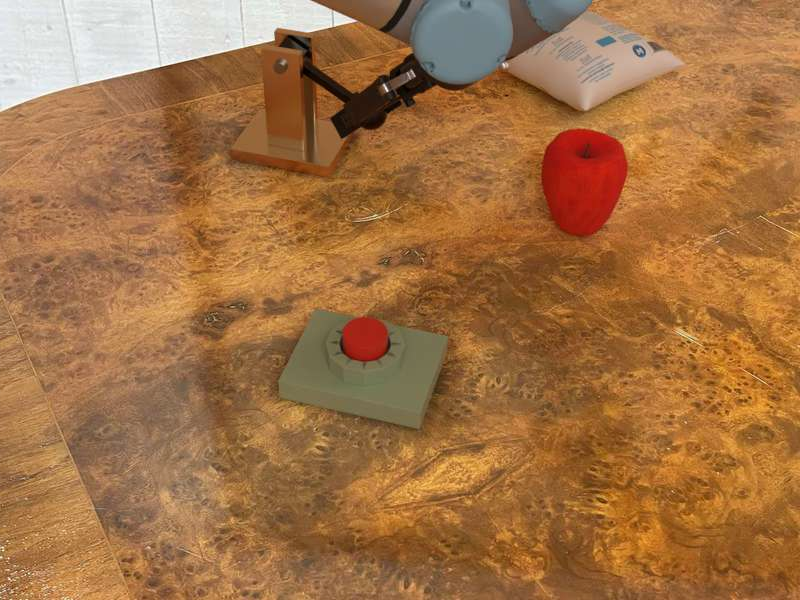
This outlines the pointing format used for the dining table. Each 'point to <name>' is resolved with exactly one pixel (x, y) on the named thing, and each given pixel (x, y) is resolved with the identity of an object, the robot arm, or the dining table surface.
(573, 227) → the apple
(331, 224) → the dining table surface
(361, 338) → the stop button
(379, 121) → the lever
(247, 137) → the power switch
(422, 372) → the stop button block
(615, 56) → the pouch
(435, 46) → the robot arm
